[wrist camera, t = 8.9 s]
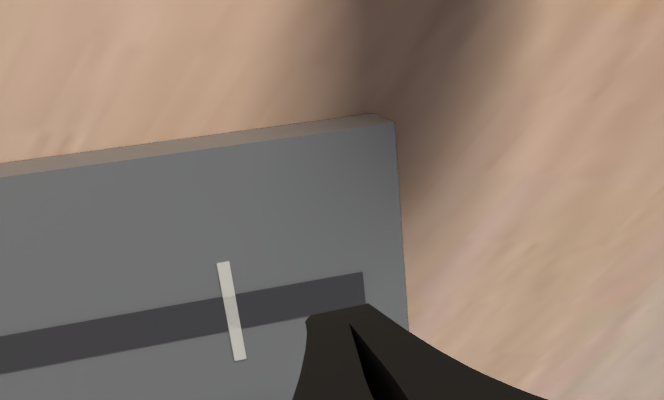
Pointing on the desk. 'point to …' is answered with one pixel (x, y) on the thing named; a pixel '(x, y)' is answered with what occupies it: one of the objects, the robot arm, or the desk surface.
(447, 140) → the desk surface
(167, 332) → the console
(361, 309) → the robot arm
